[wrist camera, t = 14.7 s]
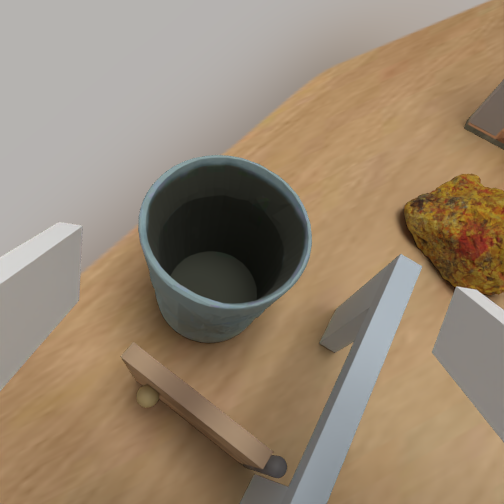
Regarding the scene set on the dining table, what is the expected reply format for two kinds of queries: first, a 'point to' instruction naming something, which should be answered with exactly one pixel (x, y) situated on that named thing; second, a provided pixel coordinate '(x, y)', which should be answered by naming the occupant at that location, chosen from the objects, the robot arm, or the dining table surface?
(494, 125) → the cabinet
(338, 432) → the grey rectangular arch
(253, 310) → the teal cup
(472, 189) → the rock
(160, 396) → the door
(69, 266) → the robot arm
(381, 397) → the dining table surface
